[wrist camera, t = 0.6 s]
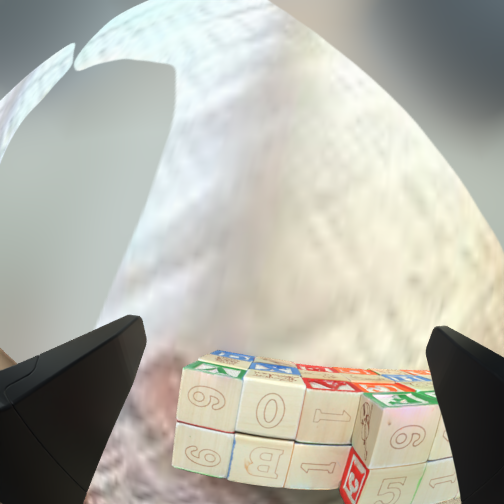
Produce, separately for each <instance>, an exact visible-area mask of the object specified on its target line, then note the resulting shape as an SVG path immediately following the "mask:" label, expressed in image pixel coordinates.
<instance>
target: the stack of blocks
mask: <svg viewBox="0 0 504 504" xmlns="http://www.w3.org/2000/svg"><path fill="white" fill-rule="evenodd" d="M176 419H177V424H176V430H175V438H174V449H173V457H172V466H173V467H175V468H178V469H183V470H186V471H190V472H194V473H199V474H203V475H207V476H212V477H217V478H227V479H228V480H229V481H233V482H240V483H246V484H252V485H260V486H268V487H277V488H281V487H284V488H288V489H301V490H331V489H337V488H340V489H339V490H340V494H341V497H342V498H343V500H344V503H345V504H436V503H441V502H445V501H448V500H451V499H457V498H460V492H459V486H458V481H457V476H456V471H455V466H454V461H453V457H452V453H451V448H450V444H449V440H448V437H447V433H446V429H445V425H444V422H443V418H442V415H441V412H440V408H439V405H438V402H437V399H436V395H435V391H434V387H433V383H432V378H431V374H430V371H416V370H390V369H370V368H369V369H367V370H362V369H349V368H338V367H332V368H329V367H320V366H311V365H302V364H295V363H294V362H291V361H284V360H277V359H270V358H264V357H254V356H248V355H243V354H237V353H231V352H226V351H220V350H217V351H215V352H213V353H210V354H207V355H204V356H202V357H200V358H198V360H197V361H196V362H193V363H192V364H189V365H187V366H185V367H183V371H182V378H181V385H180V392H179V400H178V406H177V414H176Z"/></svg>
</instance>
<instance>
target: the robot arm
mask: <svg viewBox="0 0 504 504" xmlns="http://www.w3.org/2000/svg"><path fill="white" fill-rule="evenodd" d="M145 347H146V334H145V330H144V325H143V321H142V318H141V317H140V316H135V315H127V316H124V317H122V318H120V319H118V320H115V321H113V322H111V323H109V324H107V325H104V326H102V327H100V328H98V329H95V330H93V331H91V332H89V333H87V334H84V335H82V336H80V337H78V338H76V339H73V340H71V341H69V342H66V343H64V344H62V345H60V346H57V347H55V348H53V349H51V350H49V351H46V352H44V353H42V354H40V355H37V356H35V357H33V358H31V359H28V360H26V361H23V362H21V363H18V364H16V365H13V366H11V367H8V368H5V369H3V370H0V504H83V502H84V500H85V497H86V494H87V493H86V492H87V491H88V489H89V486H90V483H91V481H92V478H93V476H94V473H95V471H96V468H97V466H98V463H99V461H100V458H101V456H102V453H103V451H104V449H105V446H106V444H107V441H108V439H109V437H110V434H111V432H112V430H113V427H114V425H115V423H116V421H117V418H118V416H119V414H120V412H121V409H122V407H123V405H124V403H125V400H126V398H127V396H128V394H129V392H130V389H131V387H132V385H133V382H134V379H135V376H136V373H137V370H138V367H139V364H140V361H141V358H142V355H143V352H144V349H145ZM426 357H427V361H428V365H429V369H430V374H431V378H432V383H433V387H434V391H435V395H436V399H437V402H438V405H439V408H440V412H441V415H442V418H443V422H444V425H445V429H446V433H447V437H448V440H449V444H450V448H451V453H452V457H453V461H454V466H455V471H456V476H457V481H458V486H459V492H460V498H461V502H462V503H461V504H504V357H502V356H500V355H499V354H497V353H495V352H493V351H491V350H490V349H488V348H486V347H484V346H482V345H481V344H479V343H477V342H475V341H473V340H472V339H470V338H468V337H466V336H464V335H462V334H460V333H459V332H457V331H455V330H453V329H451V328H449V327H448V326H436V327H435V328H434V329H433V331H432V334H431V336H430V339H429V342H428V345H427V347H426Z"/></svg>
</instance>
